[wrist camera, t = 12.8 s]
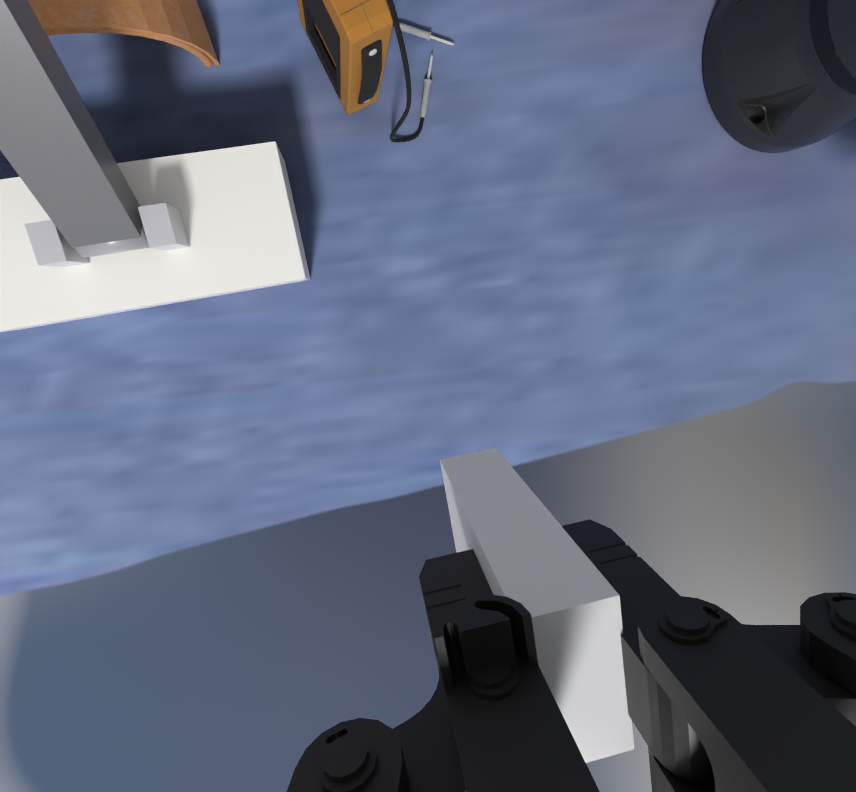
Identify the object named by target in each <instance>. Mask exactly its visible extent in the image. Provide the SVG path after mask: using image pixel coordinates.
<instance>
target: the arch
mask: <svg viewBox="0 0 856 792" xmlns="http://www.w3.org/2000/svg"><path fill="white" fill-rule="evenodd" d="M28 2H29V4H30V6H31V7H32V9H33V11H34V13H35V15H36V16H37V18H38V20H39V22H40V24H41V26H42V27H43V29H44V31H45V33H46V35H47V36H48V35H55V34H72V33H115V34H125V35H133V36H142V37H146V38H151V39H155V40H160V41H164V42H167V43H170V44H173V45H176V46H179V47H181V48H183V49H185V50H187V51H189V52H191V53H193V54H194V55H196V56H197V57H198V58H199V59H200V60H201V61H203V63H204V64H205V66H207V67H211V66H212V62H213V63H214V64H215V65H216V66H218V65H219V62H218V59H217V56H216V54H215V51H214V48H213V45H212V42H211V40H210V37H209V34H208V31H207V28H206V25H205V23H204V20H203V17H202V14H201V11H200V9H199V6H198V3H197V0H28Z"/></svg>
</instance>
